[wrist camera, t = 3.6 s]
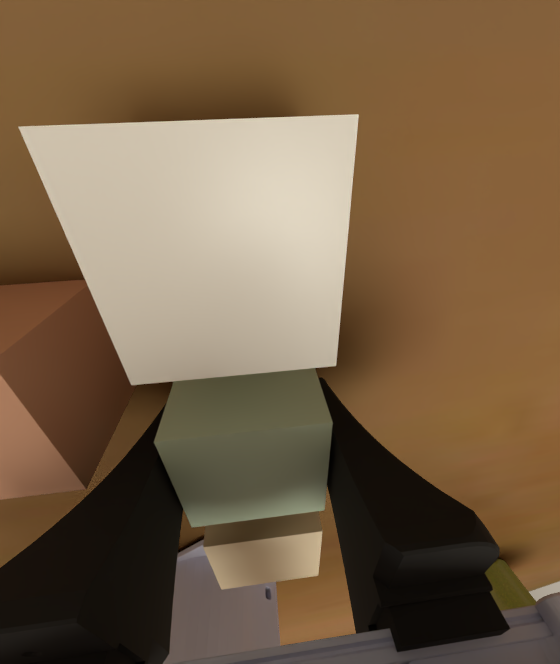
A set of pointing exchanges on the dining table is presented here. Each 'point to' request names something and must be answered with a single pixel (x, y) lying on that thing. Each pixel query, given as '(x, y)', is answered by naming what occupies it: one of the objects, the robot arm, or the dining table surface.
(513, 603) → the plant pot
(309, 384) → the sage block
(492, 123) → the dining table surface
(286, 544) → the maple block
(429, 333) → the dining table surface
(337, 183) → the offwhite block
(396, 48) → the dining table surface
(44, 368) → the terracotta block
